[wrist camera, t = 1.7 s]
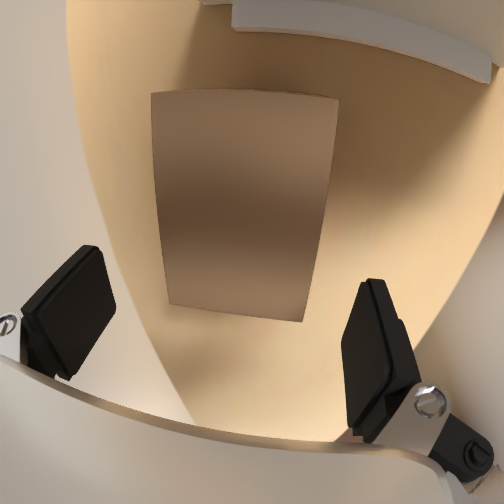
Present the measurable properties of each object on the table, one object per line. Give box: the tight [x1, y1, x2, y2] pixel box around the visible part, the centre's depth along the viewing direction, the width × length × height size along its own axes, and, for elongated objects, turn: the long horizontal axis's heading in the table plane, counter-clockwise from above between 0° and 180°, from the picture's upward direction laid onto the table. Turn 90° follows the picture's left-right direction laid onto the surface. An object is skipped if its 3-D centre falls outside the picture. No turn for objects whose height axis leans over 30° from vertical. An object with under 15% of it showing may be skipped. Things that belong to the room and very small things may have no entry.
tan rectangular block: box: [151, 88, 339, 322], centre depth 14 cm, size 9×6×9 cm, turn 177°
